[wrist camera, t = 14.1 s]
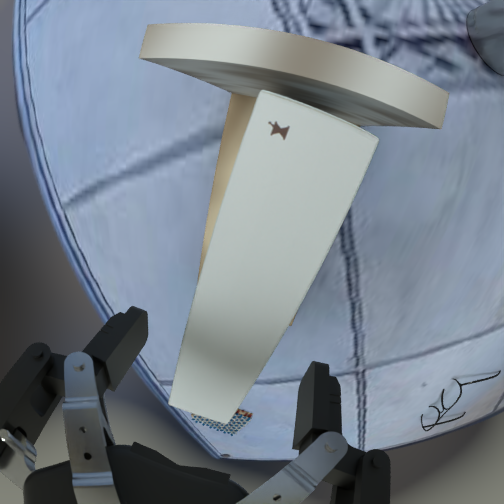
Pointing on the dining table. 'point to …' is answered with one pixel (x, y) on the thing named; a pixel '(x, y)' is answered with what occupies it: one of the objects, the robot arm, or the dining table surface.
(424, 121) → the wooden bookend
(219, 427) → the woven mat
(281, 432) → the dining table surface
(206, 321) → the skincare box
